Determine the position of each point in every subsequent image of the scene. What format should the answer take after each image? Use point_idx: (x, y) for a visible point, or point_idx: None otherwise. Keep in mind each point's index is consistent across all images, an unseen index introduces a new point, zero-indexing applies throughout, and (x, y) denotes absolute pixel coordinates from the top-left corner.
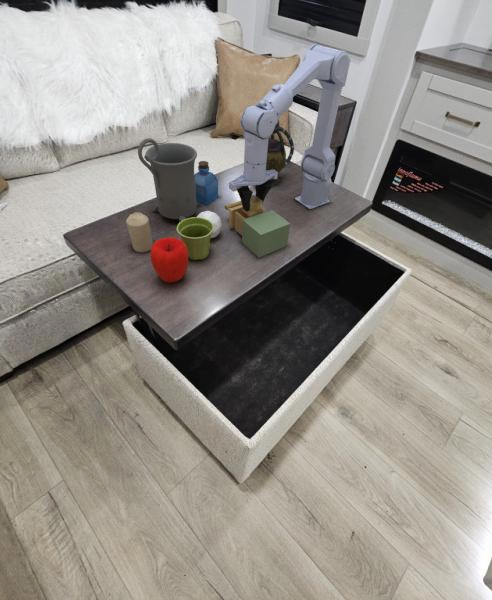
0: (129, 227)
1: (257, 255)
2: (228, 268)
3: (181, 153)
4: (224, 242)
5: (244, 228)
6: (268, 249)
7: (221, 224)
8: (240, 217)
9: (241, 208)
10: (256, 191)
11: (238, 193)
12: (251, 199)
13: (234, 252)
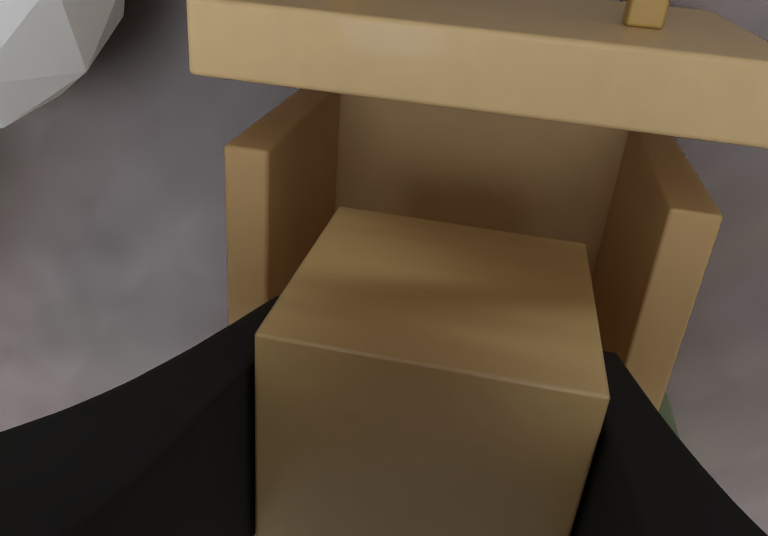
0: None
1: None
2: (26, 397)
3: None
4: (140, 141)
5: None
6: None
7: (62, 76)
8: (231, 285)
9: (412, 96)
10: (624, 531)
11: (12, 432)
12: (381, 484)
13: (151, 305)
